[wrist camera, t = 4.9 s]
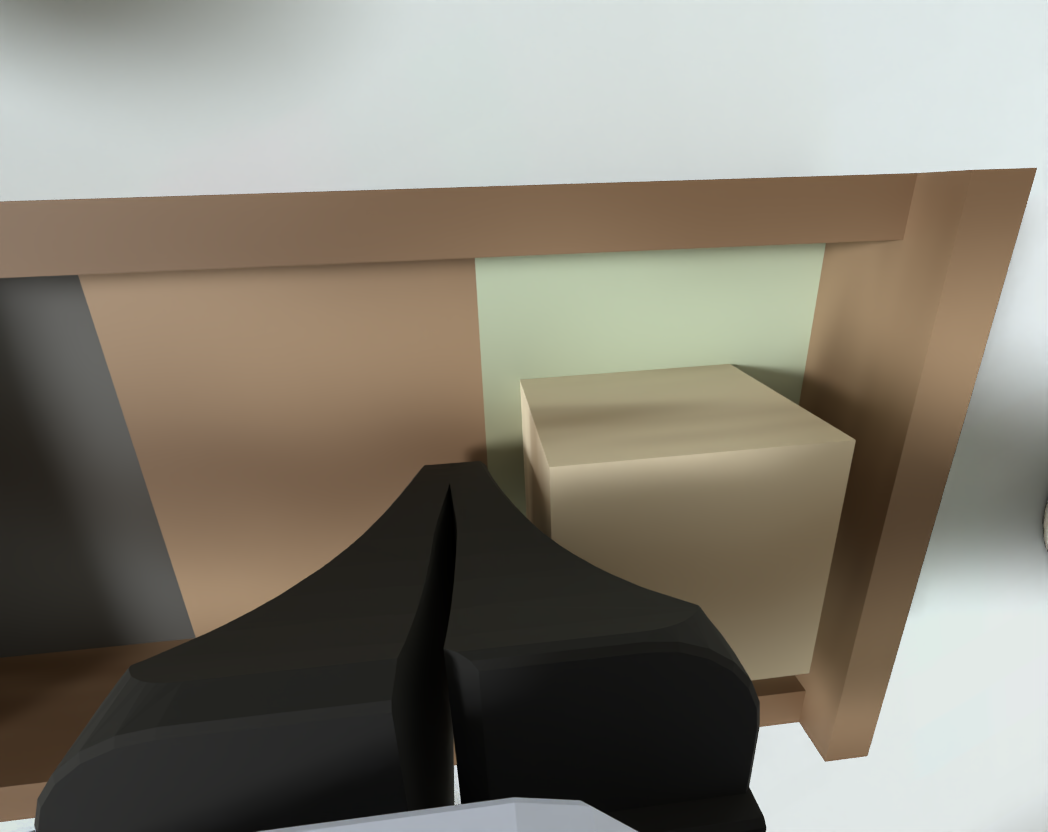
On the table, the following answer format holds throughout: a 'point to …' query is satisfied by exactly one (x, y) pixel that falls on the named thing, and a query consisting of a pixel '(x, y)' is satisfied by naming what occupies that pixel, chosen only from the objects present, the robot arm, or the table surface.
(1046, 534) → the lidded bowl
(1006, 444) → the table surface
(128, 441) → the wooden storage tray
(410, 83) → the table surface
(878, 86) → the table surface
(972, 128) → the table surface
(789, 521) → the block
